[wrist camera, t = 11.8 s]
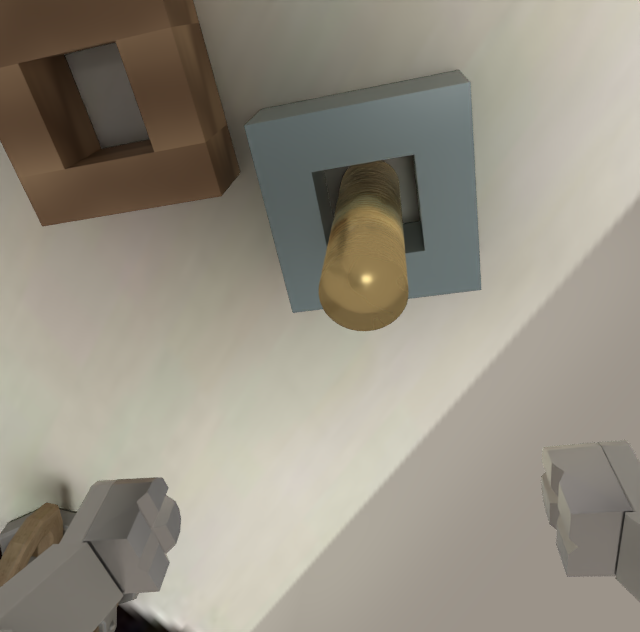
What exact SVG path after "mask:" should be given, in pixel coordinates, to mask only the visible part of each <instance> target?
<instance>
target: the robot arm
mask: <svg viewBox="0 0 640 632" xmlns="http://www.w3.org/2000/svg"><path fill="white" fill-rule="evenodd" d="M542 463H543V466H544V469H545V473H544V474H543V475H542V476H541V481H542V482H541V486H542V495H543V502H544V506H545V510H546V514H547V517H548V520H549V524H550V525H551V526H553V527H554V528H555V529H556V530H557V539H556V545H557V548H558V551H559V554H560V557H561V560H562V563H563V566H564V569H565V572H566V575H567V577H568V576H569V577H572V576H573V577H577V576H578V577H580V576H616V579H617V580H618V581H619V582H620V583H621V584H622V585H623V586H624V587H625V588H626V589H627V590H628V591H629V592H630V593H631V594H632V595H633V596H634V597H635V598H636V599H637V600H638V601H639V602H640V461H639V459H638V457H637V455H636V454H635V452H634V450H633V448H632V447H631V445H630V444H629V443H628V442H627V441H626V440H620V441H608V442H598V443H595V442H594V443H582V444H572V445H560V446H549V447H543V450H542ZM167 490H168V486H167V484H166V483H165V481H164V479H163V478H157V477H156V478H136V479H118V480H103V481H97V482H96V483H95V484H93V485H92V486H91V488H90V490H89V492H88V493H87V495H86V497H85V499H84V500H83V502H82V504H81V506H80V508H79V509H78V511H77V513H76V515H75V516H74V518H73V520H72V522H71V524H70V525H69V527H68V529H67V531H66V532H65V534H64V536H63V538H62V540H61V541H60V543H59V544H53V545H52V546H50V547H49V548H48V549H47V550H45V551H44V552H43V553H42V554H41V555H39V556H38V557H37V558H36V559H34V560H33V561H32V562H31V563H30V564H28V565H27V566H26V567H25V568H23V569H22V570H21V571H20V572H19V573H17V574H16V575H15V576H14V577H12V578H11V579H10V580H9V581H8V582H6V583H5V584H4V585H3V586H1V587H0V632H93V631H94V630H95V629H96V628H97V626H98V625H99V624H100V623H101V622H102V621H103V619H104V618H105V617H106V616H107V615H108V614H109V612H110V611H111V610H112V609H113V608H114V607H115V605H116V604H117V603H118V602H119V601H120V600H121V598H122V597H123V594H127V593H142V592H157V591H160V588H161V585H162V582H163V579H164V577H165V574H166V571H167V568H168V565H169V560H168V557H167V554H166V553H167V552H168V551H169V550H170V549H171V548H172V547H173V546H174V545H175V544H176V542H177V539H178V536H179V533H180V524H181V516H180V511H179V508H178V506H177V504H176V502H175V501H174V500H173V499H171V498H170V497H168V496H167V495H166V493H167Z"/></svg>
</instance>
